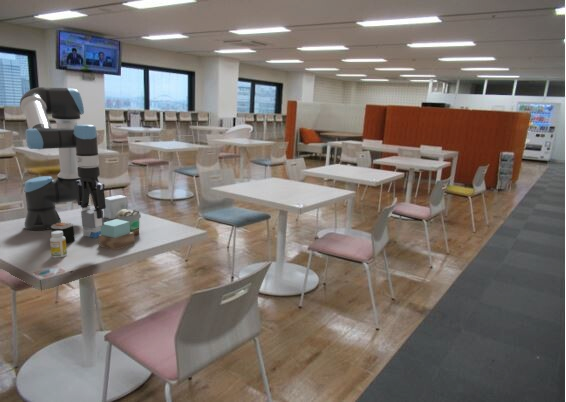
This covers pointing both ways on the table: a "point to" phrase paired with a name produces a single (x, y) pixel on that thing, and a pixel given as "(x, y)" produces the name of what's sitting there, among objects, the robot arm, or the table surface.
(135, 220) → the food container
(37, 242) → the table surface
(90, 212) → the cube
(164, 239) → the table surface
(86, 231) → the ink box
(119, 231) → the tower top
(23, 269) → the table surface
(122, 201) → the skincare box
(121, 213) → the skull
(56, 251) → the supplement bottle
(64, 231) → the sushi
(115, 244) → the tower base
